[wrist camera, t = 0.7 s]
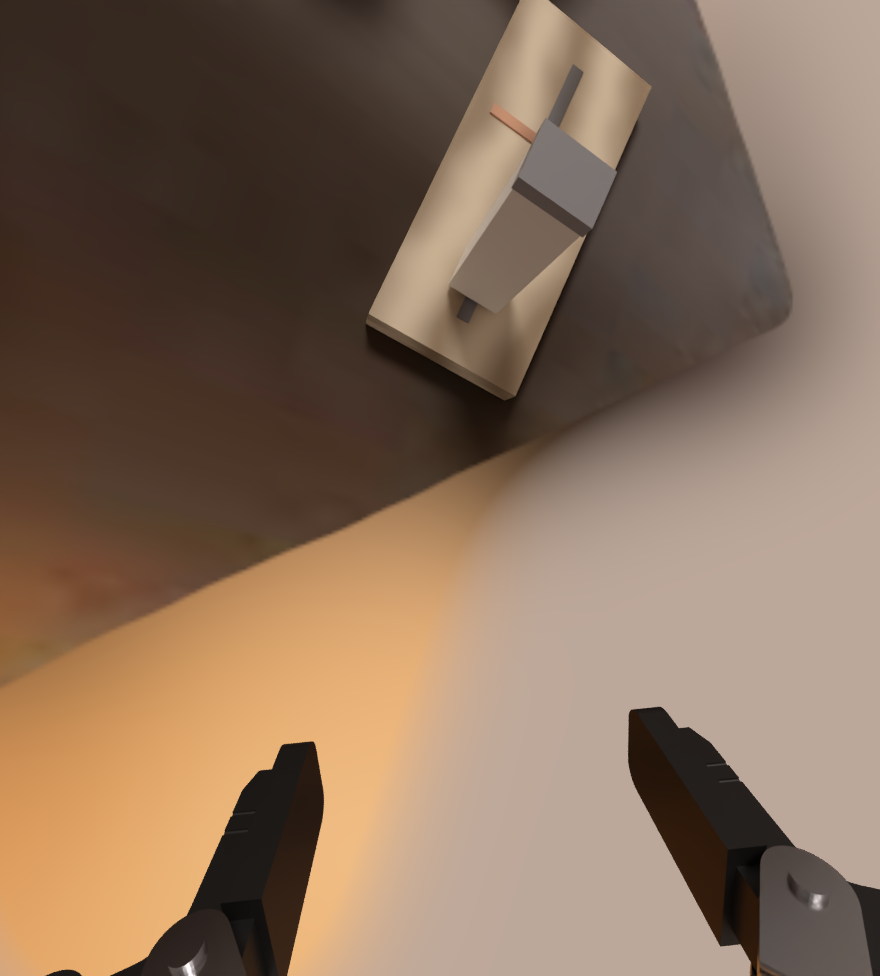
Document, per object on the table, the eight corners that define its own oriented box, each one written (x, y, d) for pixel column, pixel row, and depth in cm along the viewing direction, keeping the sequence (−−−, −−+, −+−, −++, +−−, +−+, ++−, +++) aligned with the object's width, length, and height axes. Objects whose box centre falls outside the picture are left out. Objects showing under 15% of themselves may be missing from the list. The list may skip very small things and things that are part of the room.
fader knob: (446, 285, 32) (518, 176, 20) (464, 246, 32) (545, 117, 21) (496, 316, 33) (592, 228, 21) (513, 277, 33) (617, 172, 22)
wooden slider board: (365, 323, 33) (368, 313, 31) (516, 10, 35) (529, -19, 33) (504, 400, 36) (516, 395, 34) (634, 106, 38) (652, 85, 36)
